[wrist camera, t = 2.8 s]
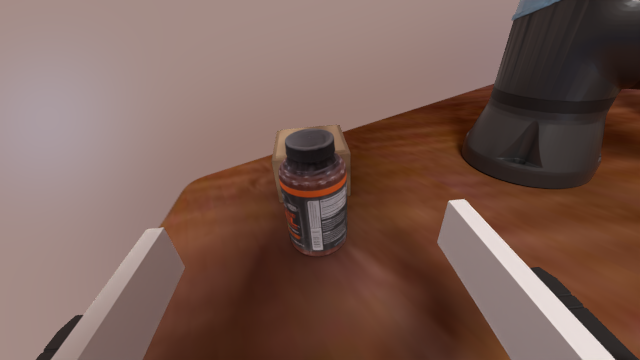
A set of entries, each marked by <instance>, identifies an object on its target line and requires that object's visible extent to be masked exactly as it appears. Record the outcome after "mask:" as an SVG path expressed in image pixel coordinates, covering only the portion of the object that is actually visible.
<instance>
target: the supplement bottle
mask: <svg viewBox="0 0 640 360" xmlns="http://www.w3.org/2000/svg"><path fill="white" fill-rule="evenodd" d="M285 148H286V155H287V157H286V158H285V159H284V160H283V161H282V163H281V164H280V166H279V171H278V175H279V181H280V187H281V192H282V198H283V202H284V208H285V213H286V219H287V224H288V229H289V235H290V238H291V241H292V244H293V245H294V247H295V248H296V249H297V250H298V251H300V252H301V253H303V254H306V255H309V256H325V255H329V254H331V253H333V252H335V251H337V250H338V249H339V248H340V247H341V246H342V245H343V244H344V242H345V240H346V236H347V170H346V164H345V161H344V160H343V158H342V157H341V156H340V155H339V154H337V153H336V152H335V145H334V136H333V134H332V133H331V132H329V131H327V130H323V129H315V128H311V129H303V130H299V131H296V132H293V133H291V134H290V135H288V136H287V137H286V139H285Z"/></svg>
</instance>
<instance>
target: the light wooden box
mask: <svg viewBox="0 0 640 360" xmlns="http://www.w3.org/2000/svg"><path fill="white" fill-rule="evenodd" d="M311 128H315V129H323V130H327V131H329V132H331V133H332V134H333V136H334V145H335V152H336V153H337V154H339V155H340V156H341V157H342V158H343V160H344V161H345V164H346V170H347V196H351V185H350V151H349V148H348V146H347V143H346V141H345V138H344V136H343V133H342V130H341V128H340V125H329V126H318V127H307V128H297V129H286V130H280V131H277V135H276V140H275V145H274V151H273V156H272V166H273V171H274V176H275V181H276V186H277V191H278V196H279V201H280V203H281V202H283V198H282V192H281V187H280V181H279V175H278V171H279V166H280V164H281V163H282V161H283V160H284V159H285V158H286V157H287V155H286V148H285V139H286V137H287V136H288V135H290V134H291V133H293V132H296V131H299V130H303V129H311Z"/></svg>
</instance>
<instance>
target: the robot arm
mask: <svg viewBox="0 0 640 360" xmlns="http://www.w3.org/2000/svg"><path fill="white" fill-rule="evenodd" d="M512 20H514V21H513V25H512V28H511V31H510V35H509V38H508V42H507V45H506V48H505V52H504V55H503V58H502V61H501V64H500V68H499V71H498V74H497V77H496V80H495V84H494V87H493V91H492V94H491V97H490V100H489V102H488V104H487V105H486V107H485V108H484V110H483V111H482V113H481V114H480V116H479V118H478V119H477V121H476V122H475V124H474V126H473V127H472V129H471V130H470V131H469V132H468V133H467V135H466V136H465V139H464V143H463V146H462V150H461V153H462V156H463V157H464V159H465V160H466V161H467V162H468V163H469V164H470V165H472V166H473V167H475V168H476V169H478V170H480V171H482V172H484V173H486V174H488V175H490V176H493V177H495V178H498V179H501V180H504V181H508V182H511V183H515V184H520V185H525V186H531V187H538V188H551V189H561V188H572V187H577V186H580V185H583V184H585V183H587V182H589V181H590V180H591V178H592V177H593V175H594V173H595V172H596V170H597V169H598V167H599V165H600V163H601V153H600V152H601V147H602V141H603V135H604V127H605V119H606V115H607V113H608V111H609V109H610V107H611V105H612V103H613V102H614V100H615V98H616V96H617V95H618V93H619V92H620V91H621V89H639V90H640V0H520V2H519V5H518V8H517V10H516V13H515V14H514V15H513V17H512ZM437 243H438V245H439V246H440V248H441V249H442V251H443V252H444V254H445V256H446V257H447V259H448V260H449V262H450V264H451V265H452V267H453V268H454V270H455V271H456V273H457V275H458V276H459V278H460V279H461V281H462V283H463V284H464V286H465V287H466V289H467V290H468V292H469V294H470V295H471V297H472V298H473V300H474V302H475V303H476V305H477V306H478V308H479V309H480V311H481V313H482V314H483V316H484V317H485V319H486V321H487V322H488V324H489V325H490V327H491V328H492V330H493V332H494V333H495V335H496V336H497V338H498V340H499V341H500V343H501V344H502V346H503V347H504V349H505V351H506V352H507V354H508V355H509V357H510V359H511V360H639V359H638V358H637V357H636V356H634V355H633V354H632V353H631V352H630V351H629V350H628V349H627V348H626V347H625V346H624V345H623V344H622V343H621V342H620V341H619V340H618V339H617V338H616V337H615V336H614V335H613V334H612V333H611V332H610V331H609V330H608V329H607V328H606V327H605V326H604V325H603V324H602V323H601V322H600V321H599V320H598V319H597V318H596V317H595V316H594V315H593V314H592V313H591V312H590V311H589V310H588V309H587V308H584V307H583V304H582V303H581V302H580V301H579V300H578V299H577V298H576V297H575V296H572V295H571V292H570V291H569V290H568V289H567V288H566V287H565V286H564V285H563V284H562V283H561V282H560V281H559V280H558V279H557V278H555V277H554V276H552V275H551V274H549V273H547V272H546V271H544V270H543V269H541V268H540V267H535V268H529V267H528V266H527V265H526V264H525V263H524V262H523V261H522V260H521V259H520V258H519V257H518V256H517V254H516V253H515V252H514V251H513V250H512V249H511V248H510V247H509V246H508V245H507V244H506V243H505V242H504V241H503V240H502V238H501V237H500V236H499V235H498V234H497V233H496V232H495V231H494V230H493V229H492V228H491V227H490V226H489V225H488V224H487V223H486V221H485V220H484V219H483V218H482V217H481V216H480V215H479V214H478V213H477V212H476V211H475V210H474V209H473V208H472V207H471V206H470V204H469V203H468V202H467V201H466V200H465V199H463V200H452V201H448V205H447V209H446V212H445V216H444V220H443V223H442V227H441V231H440V234H439V238H438V242H437ZM184 269H185V266H184V264H183V262H182V261H181V259H180V257H179V255H178V253H177V251H176V249H175V247H174V246H173V244H172V242H171V240H170V238H169V236H168V234H167V233H166V231H165V229H164V228H154V229H147V230H146V231H145V232H144V234H143V235H142V236H141V238H140V239H139V240H138V242H137V243H136V245H135V246H134V247H133V249H132V250H131V251H130V253H129V254H128V255H127V257H126V258H125V259H124V261H123V262H122V263H121V265H120V266H119V268H118V269H117V270H116V272H115V273H114V274H113V276H112V277H111V278H110V280H109V281H108V283H107V284H106V285H105V287H104V288H103V289H102V291H101V292H100V293H99V295H98V296H97V298H96V299H95V300H94V302H93V303H92V304H91V306H90V307H89V308H88V310H87V311H86V312H85V314H84V315H77V316H75V317H74V318H73V319H71V320H70V321H69V322H68V323H67V324H66V325H65V326H64V327H62V328H61V329H60V330H59V331H58V332H57V333H56V335H55V336H54V337H53V338H52V340H51V341H50V342H49V344H48V345H47V346H46V348H45V349H44V352H43V353H41V354H40V355H39V356H38V358H37V359H36V360H143V358H144V356H145V353H146V351H147V349H148V347H149V345H150V343H151V340H152V338H153V336H154V334H155V332H156V330H157V327H158V325H159V323H160V321H161V319H162V317H163V314H164V312H165V310H166V308H167V306H168V304H169V301H170V299H171V297H172V295H173V293H174V291H175V288H176V286H177V284H178V282H179V280H180V278H181V276H182V273H183V271H184Z"/></svg>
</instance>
